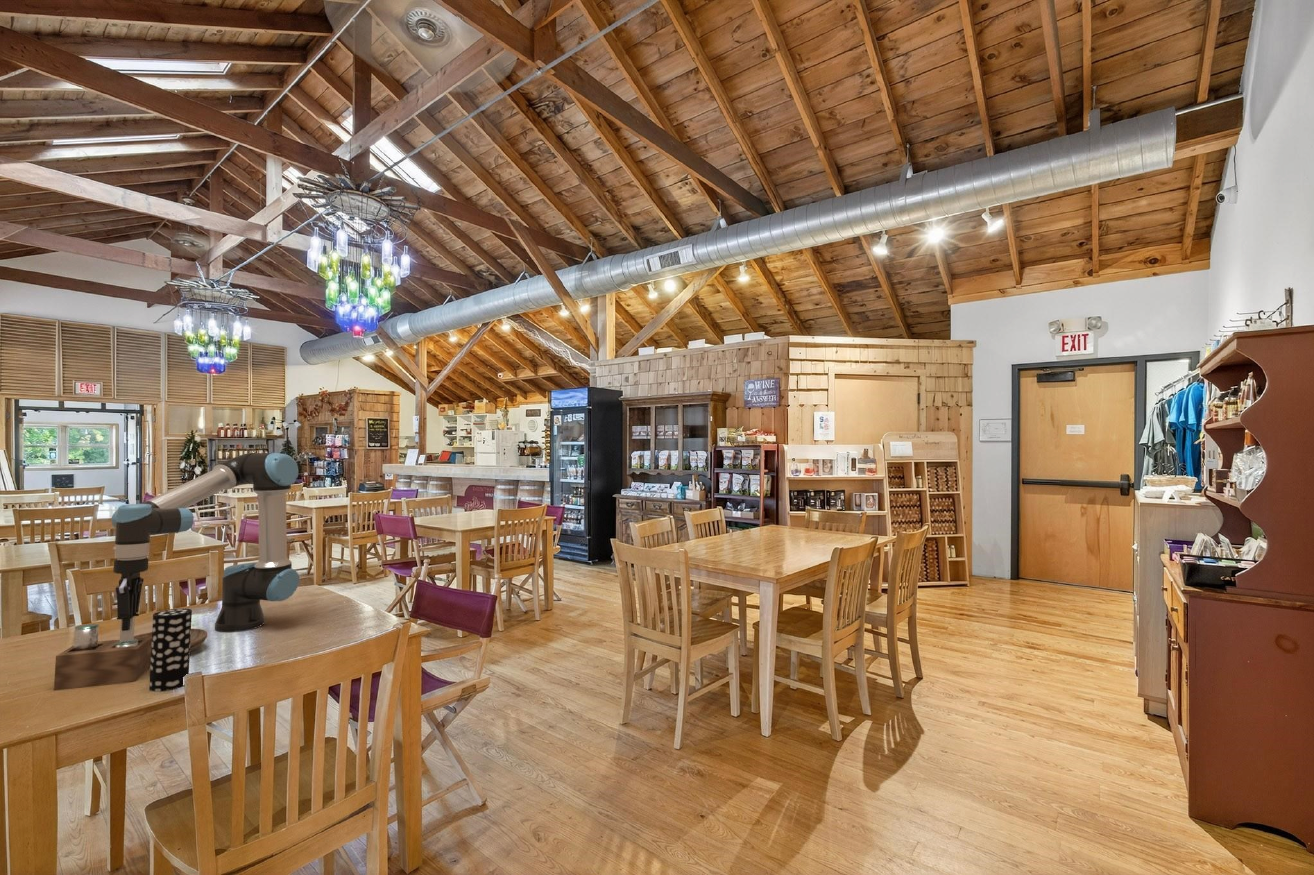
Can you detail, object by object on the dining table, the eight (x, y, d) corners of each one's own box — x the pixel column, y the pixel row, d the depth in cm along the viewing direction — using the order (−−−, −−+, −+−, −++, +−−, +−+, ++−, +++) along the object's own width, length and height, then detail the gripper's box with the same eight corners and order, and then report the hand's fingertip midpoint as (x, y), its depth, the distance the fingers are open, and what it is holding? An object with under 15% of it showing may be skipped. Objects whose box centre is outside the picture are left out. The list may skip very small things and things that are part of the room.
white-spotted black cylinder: (164, 680, 166) (167, 608, 167) (195, 679, 167) (199, 608, 168) (140, 691, 158) (145, 616, 159) (173, 691, 159) (177, 616, 159)
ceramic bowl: (129, 647, 194) (130, 631, 194) (215, 640, 203) (216, 625, 203) (95, 670, 173) (96, 653, 173) (194, 661, 182) (194, 645, 182)
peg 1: (100, 653, 168) (101, 623, 169) (92, 658, 164) (94, 627, 164) (78, 655, 166) (79, 624, 167) (69, 660, 162) (71, 629, 162)
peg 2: (139, 667, 172) (140, 638, 172) (132, 673, 168) (134, 643, 168) (118, 669, 170) (119, 640, 170) (111, 675, 166) (112, 645, 166)
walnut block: (150, 667, 176) (152, 636, 176) (134, 681, 165) (136, 648, 165) (75, 674, 169) (77, 643, 169) (53, 690, 158) (55, 656, 158)
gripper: (124, 555, 174) (119, 636, 173) (104, 562, 163) (99, 649, 161) (156, 554, 177) (151, 633, 176) (139, 560, 166) (134, 646, 165)
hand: (126, 640), depth 169 cm, fingers closed
